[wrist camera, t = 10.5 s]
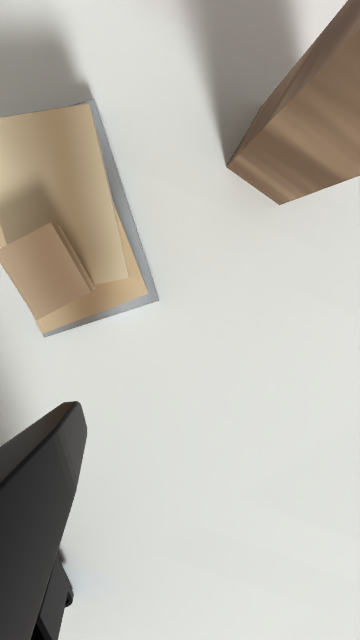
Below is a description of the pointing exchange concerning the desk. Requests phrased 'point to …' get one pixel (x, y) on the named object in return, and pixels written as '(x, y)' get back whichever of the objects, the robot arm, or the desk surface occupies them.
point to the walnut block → (309, 119)
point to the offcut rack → (67, 220)
